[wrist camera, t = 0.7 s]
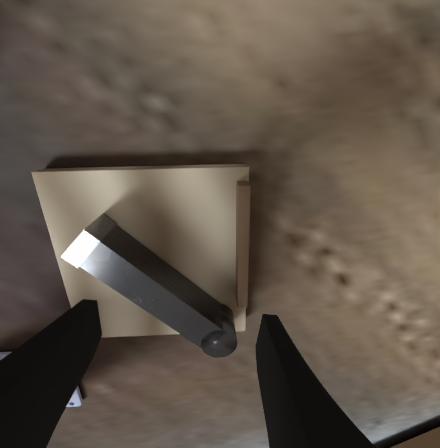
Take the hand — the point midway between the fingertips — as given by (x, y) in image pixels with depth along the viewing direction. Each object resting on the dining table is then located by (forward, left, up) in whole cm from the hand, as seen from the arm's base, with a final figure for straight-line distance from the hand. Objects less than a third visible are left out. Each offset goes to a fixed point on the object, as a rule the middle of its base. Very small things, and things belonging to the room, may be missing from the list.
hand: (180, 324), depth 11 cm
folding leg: (-2, -4, -9) cm, 10 cm away
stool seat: (-3, -2, -11) cm, 11 cm away
